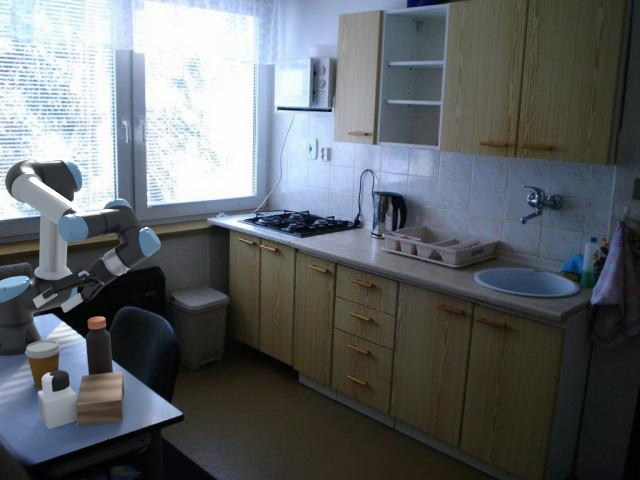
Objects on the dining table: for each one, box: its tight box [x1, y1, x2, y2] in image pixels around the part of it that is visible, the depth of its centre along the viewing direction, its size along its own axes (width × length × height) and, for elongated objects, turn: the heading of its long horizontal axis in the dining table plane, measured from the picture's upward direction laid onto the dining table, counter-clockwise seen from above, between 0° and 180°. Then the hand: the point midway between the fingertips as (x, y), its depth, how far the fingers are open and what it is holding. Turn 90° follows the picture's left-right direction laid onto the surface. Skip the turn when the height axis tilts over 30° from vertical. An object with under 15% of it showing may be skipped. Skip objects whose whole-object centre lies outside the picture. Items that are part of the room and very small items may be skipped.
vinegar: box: [85, 316, 114, 375], centre depth 182 cm, size 7×7×20 cm
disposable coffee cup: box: [25, 339, 62, 389], centre depth 183 cm, size 10×10×12 cm
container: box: [37, 369, 78, 430], centre depth 162 cm, size 8×8×13 cm
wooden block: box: [76, 371, 125, 428], centre depth 169 cm, size 18×11×6 cm, turn 16°
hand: (49, 306), depth 179 cm, fingers open, 13 cm apart
